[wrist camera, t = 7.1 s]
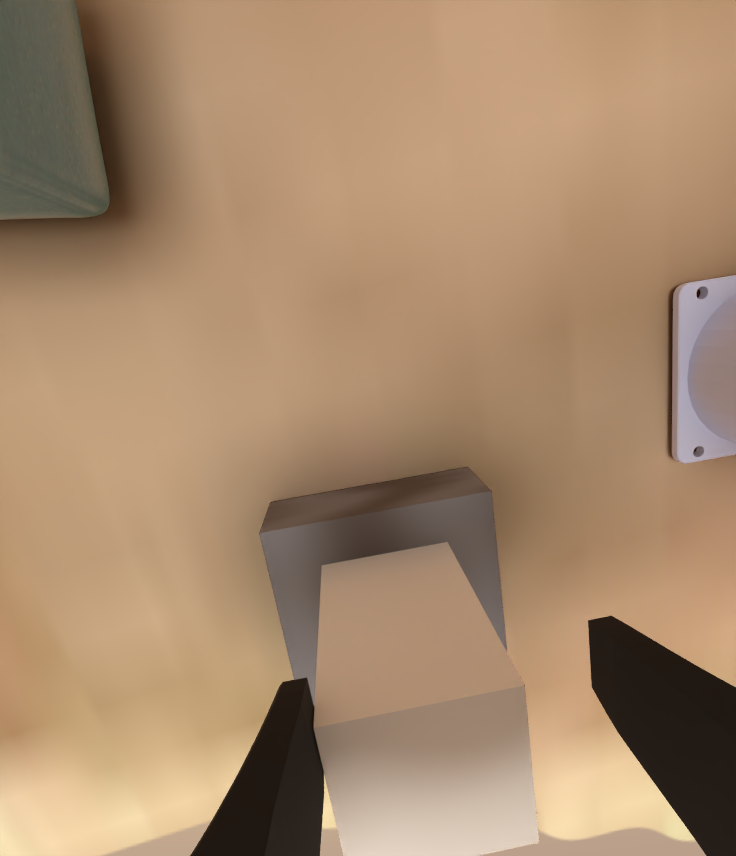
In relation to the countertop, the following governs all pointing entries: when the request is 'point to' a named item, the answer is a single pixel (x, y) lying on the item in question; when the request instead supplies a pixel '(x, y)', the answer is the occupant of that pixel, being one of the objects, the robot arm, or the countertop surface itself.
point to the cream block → (419, 712)
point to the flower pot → (47, 115)
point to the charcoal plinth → (375, 545)
